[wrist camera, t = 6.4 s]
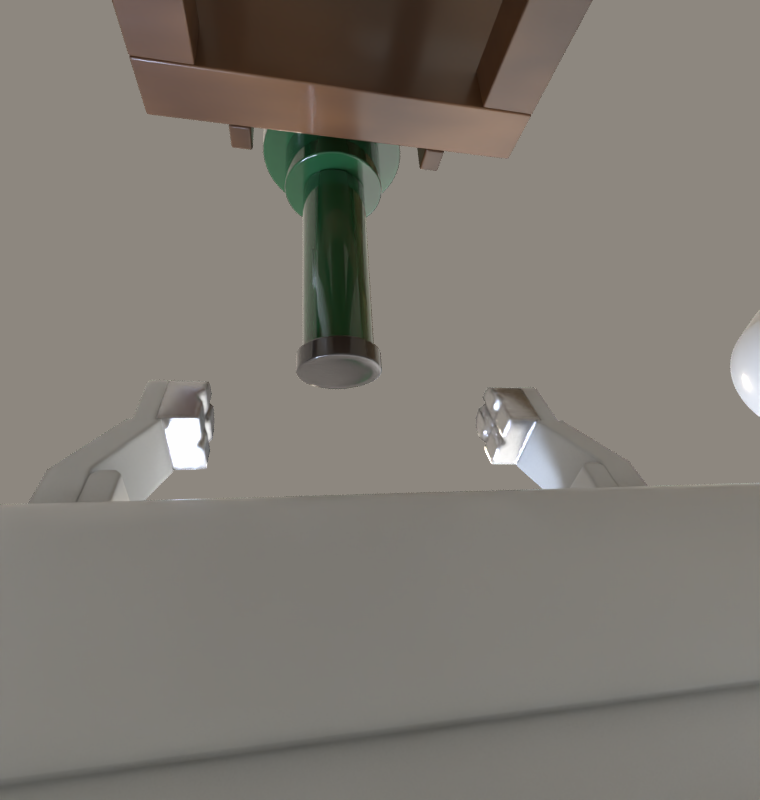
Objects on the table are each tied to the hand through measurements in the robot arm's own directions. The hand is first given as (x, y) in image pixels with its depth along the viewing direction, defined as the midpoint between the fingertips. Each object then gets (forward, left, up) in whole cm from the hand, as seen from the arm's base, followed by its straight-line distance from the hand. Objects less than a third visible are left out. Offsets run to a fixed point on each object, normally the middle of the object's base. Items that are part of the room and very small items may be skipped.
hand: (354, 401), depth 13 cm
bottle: (+3, +16, 0) cm, 16 cm away
